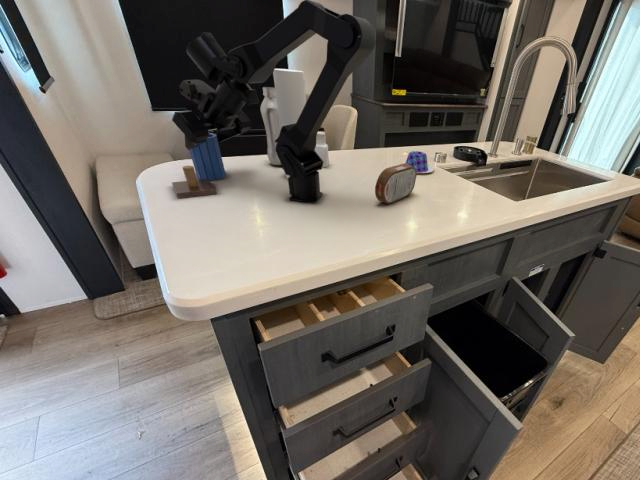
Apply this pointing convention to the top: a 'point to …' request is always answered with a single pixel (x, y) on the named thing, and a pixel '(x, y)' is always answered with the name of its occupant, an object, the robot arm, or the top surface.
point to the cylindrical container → (289, 95)
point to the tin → (395, 183)
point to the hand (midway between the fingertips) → (202, 144)
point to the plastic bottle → (271, 123)
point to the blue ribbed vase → (208, 159)
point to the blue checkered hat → (418, 162)
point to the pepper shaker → (322, 148)
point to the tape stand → (193, 185)
